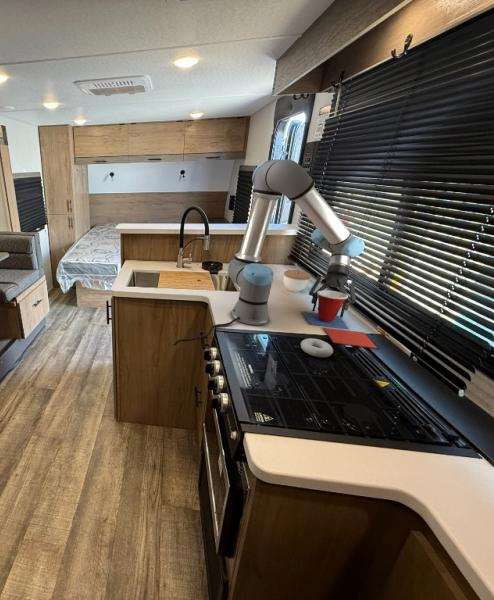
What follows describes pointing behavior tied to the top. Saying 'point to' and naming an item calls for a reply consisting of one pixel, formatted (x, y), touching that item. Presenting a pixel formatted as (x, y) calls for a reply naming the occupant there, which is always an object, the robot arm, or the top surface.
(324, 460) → the top surface
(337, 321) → the blue mat
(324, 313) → the plastic cup
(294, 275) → the white bowl with cork
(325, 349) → the donut
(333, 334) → the red mat
